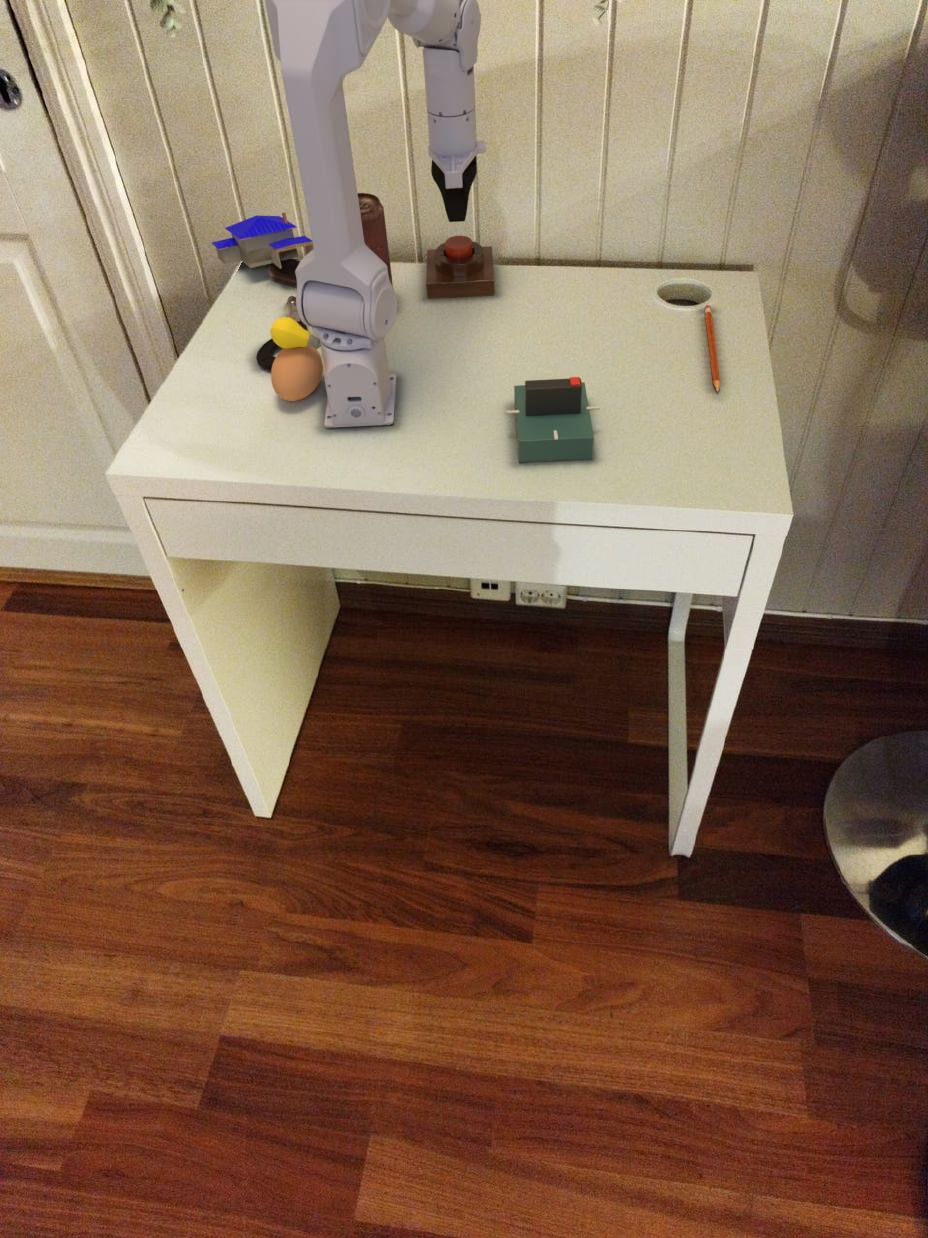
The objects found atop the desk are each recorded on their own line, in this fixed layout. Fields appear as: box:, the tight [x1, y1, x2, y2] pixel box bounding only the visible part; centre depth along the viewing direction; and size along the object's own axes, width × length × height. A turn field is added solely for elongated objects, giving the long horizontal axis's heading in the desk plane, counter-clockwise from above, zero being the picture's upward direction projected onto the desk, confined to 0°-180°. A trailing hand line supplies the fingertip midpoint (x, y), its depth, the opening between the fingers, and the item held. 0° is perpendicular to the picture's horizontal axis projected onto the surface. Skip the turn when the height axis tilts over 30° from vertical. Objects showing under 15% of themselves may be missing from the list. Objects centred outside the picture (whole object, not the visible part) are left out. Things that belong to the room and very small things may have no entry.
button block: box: [425, 240, 496, 299], centre depth 127 cm, size 9×9×4 cm
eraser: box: [268, 258, 301, 287], centre depth 129 cm, size 11×4×2 cm, turn 61°
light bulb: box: [270, 316, 321, 350], centre depth 108 cm, size 3×6×4 cm
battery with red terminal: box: [524, 376, 582, 416], centre depth 102 cm, size 6×2×4 cm, turn 91°
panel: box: [506, 381, 600, 463], centre depth 105 cm, size 10×10×3 cm
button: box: [444, 235, 473, 260], centre depth 125 cm, size 4×4×2 cm
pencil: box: [704, 304, 721, 392], centre depth 114 cm, size 1×18×1 cm, turn 174°
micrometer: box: [255, 295, 309, 370], centre depth 120 cm, size 15×7×2 cm, turn 14°
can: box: [357, 192, 394, 287], centre depth 120 cm, size 6×6×14 cm
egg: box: [270, 346, 324, 402], centre depth 111 cm, size 6×6×8 cm
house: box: [210, 212, 314, 269], centre depth 130 cm, size 11×14×6 cm
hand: (457, 219), depth 122 cm, fingers closed
